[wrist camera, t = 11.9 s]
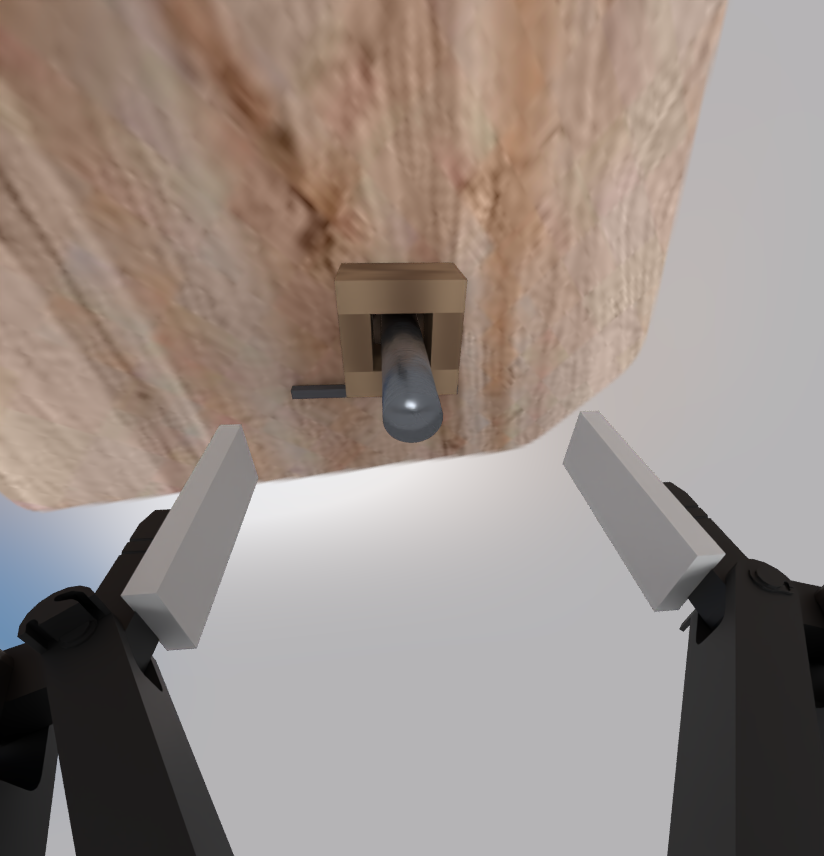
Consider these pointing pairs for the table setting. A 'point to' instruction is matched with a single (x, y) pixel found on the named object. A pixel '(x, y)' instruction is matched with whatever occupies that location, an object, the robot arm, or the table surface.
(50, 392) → the table surface
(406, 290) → the bead block
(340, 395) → the dark grey rod
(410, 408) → the dark grey peg
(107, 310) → the table surface
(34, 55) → the table surface
